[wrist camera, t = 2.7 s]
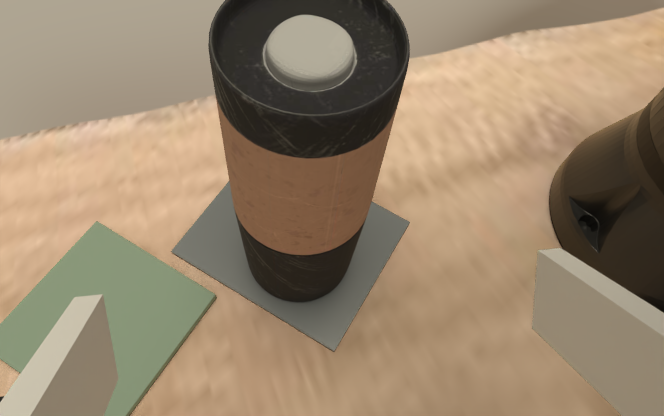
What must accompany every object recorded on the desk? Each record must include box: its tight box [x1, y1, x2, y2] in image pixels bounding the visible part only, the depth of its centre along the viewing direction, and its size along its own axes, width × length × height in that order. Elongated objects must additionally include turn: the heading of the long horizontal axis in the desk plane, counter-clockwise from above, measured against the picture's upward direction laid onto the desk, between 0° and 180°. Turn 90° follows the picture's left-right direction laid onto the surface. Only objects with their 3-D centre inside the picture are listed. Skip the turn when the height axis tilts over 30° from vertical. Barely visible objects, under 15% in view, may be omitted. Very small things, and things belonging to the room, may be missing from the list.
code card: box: [171, 181, 410, 352], centre depth 38 cm, size 13×11×1 cm
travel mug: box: [209, 0, 409, 302], centre depth 28 cm, size 8×8×20 cm
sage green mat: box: [0, 221, 216, 416], centre depth 34 cm, size 10×10×1 cm
